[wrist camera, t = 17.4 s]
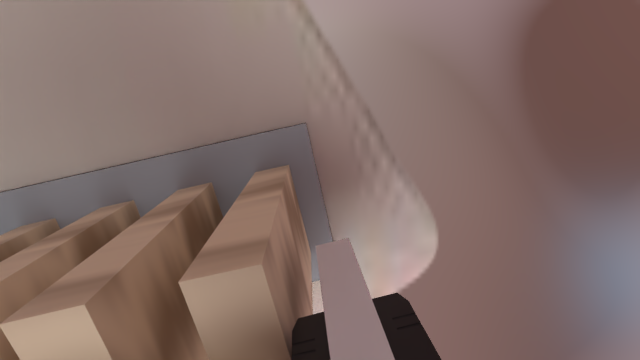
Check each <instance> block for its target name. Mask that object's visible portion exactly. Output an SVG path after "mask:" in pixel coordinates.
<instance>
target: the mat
mask: <svg viewBox="0 0 640 360" xmlns="http://www.w3.org/2000/svg"><path fill="white" fill-rule="evenodd" d="M286 165H289V167H290V171H291V175H292V179H293V183H294V187H295V191H296V195H297V199H298V203H299V207H300V211H301V215H302V219H303V223H304V227H305V231H306V235H307V239H308V243H309V247H310V251H311V270H312V282H314V281H318V280H320V277H319V269H318V262H317V254H316V247H315V246H317V245H321V244H325V243H329V242H333V240H332V236H331V231H330V227H329V223H328V218H327V214H326V209H325V205H324V201H323V196H322V192H321V187H320V183H319V179H318V174H317V170H316V165H315V161H314V157H313V152H312V148H311V143H310V139H309V135H308V130H307V126H306V123H303V124H299V125H294V126H290V127H286V128H281V129H277V130H272V131H268V132H264V133H259V134H255V135H250V136H246V137H242V138H237V139H233V140H228V141H224V142H220V143H215V144H211V145H207V146H202V147H198V148H193V149H189V150H185V151H180V152H176V153H171V154H167V155H163V156H158V157H154V158H149V159H145V160H141V161H136V162H132V163H127V164H123V165H119V166H114V167H110V168H106V169H101V170H97V171H92V172H88V173H84V174H79V175H75V176H70V177H66V178H62V179H57V180H53V181H48V182H44V183H40V184H35V185H31V186H26V187H22V188H18V189H13V190H9V191H5V192H0V235H2V234H5V233H7V232H9V231H11V230H13V229H16V228H18V227H20V226H24V225H28V224H32V223H37V222H41V221H45V220H50V219H54V218H55V219H56V221H57V223H58V225H59V227H60V229H62V228H64V227H66V226H67V225H69V224H71V223H73V222H75V221H77V220H78V219H80V218H82V217H84V216H86V215H88V214H90V213H91V212H93V211H95V210H97V209H99V208H102V207H106V206H111V205H115V204H119V203H124V202H128V201H132V200H134V202H135V205H136V207H137V209H138V212H139V214H140V217H143V216H144V215H145V214H147V213H148V212H149V211H151V210H152V209H153V208H155V207H156V206H157V205H159V204H160V203H161V202H163V201H164V200H165V199H167V198H168V197H169V196H170V195H172V194H173V193H174V192H176V191H177V190H180V189H185V188H189V187H193V186H198V185H202V184H206V183H211V182H212V185H213V188H214V191H215V194H216V197H217V200H218V203H219V206H220V209H221V212H222V215H223V218H224V216H225V215H226V213H227V212H228V211H229V209H230V208H231V206H232V205H233V203H234V202H235V201H236V199H237V198H238V196H239V195H240V193H241V192H242V190H243V189H244V188H245V186H246V185H247V183H248V182H249V180H250V179H251V178H252V176H253V175H254V173H255V172H259V171H263V170H268V169H272V168H277V167H281V166H286Z"/></svg>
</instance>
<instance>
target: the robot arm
mask: <svg viewBox="0 0 640 360" xmlns="http://www.w3.org/2000/svg"><path fill="white" fill-rule="evenodd" d="M315 247H316V254H317V262H318V269H319V277H320V284H321V292H322V299H323V307H324V312H321V313H317V314H313V315H309V316H305V317H301V318H298V319H297V321H296V324H295V326H294V328H293V330H292V360H441V358H440V356H439V355H438V353H437V351H436V349H435V348H434V346H433V344H432V342H431V340H430V339H429V337H428V335H427V333H426V331H425V330H424V328H423V326H422V325H421V323H420V321H419V319H418V317H417V315H416V314H415V312H414V310H413V308H412V306H411V305H410V303H409V301H408V300H406V299H405V298H404V297H402V296H401V295H399V294H398V293H394V294H390V295H386V296H382V297H378V298H374V299H372V298H371V296H370V293H369V290H368V288H367V285H366V282H365V280H364V277H363V275H362V272H361V269H360V267H359V264H358V261H357V259H356V256H355V253H354V251H353V248H352V246H351V243H350V240H349V238H346V239H342V240H338V241H334V242H329V243H325V244H321V245H317V246H315Z"/></svg>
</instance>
